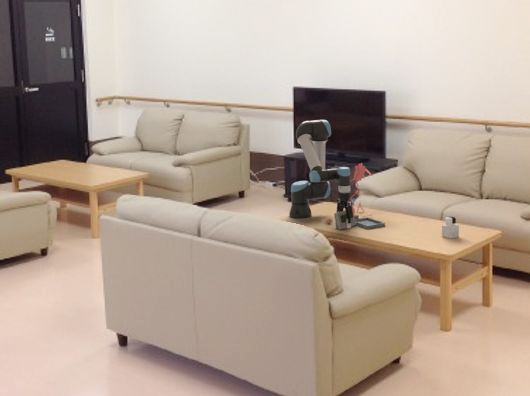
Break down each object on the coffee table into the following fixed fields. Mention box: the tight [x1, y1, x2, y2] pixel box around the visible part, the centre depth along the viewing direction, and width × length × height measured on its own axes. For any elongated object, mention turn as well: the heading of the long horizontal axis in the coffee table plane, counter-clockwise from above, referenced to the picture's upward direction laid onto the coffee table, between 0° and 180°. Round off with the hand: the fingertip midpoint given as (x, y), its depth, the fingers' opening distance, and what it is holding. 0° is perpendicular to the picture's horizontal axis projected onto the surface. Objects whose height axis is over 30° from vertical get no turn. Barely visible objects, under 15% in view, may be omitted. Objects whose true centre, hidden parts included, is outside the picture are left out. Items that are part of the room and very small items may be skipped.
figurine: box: [350, 162, 373, 217], centre depth 530 cm, size 15×26×35 cm, turn 135°
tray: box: [355, 216, 386, 230], centre depth 504 cm, size 13×19×2 cm
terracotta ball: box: [325, 217, 333, 225], centre depth 511 cm, size 4×4×4 cm
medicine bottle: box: [441, 216, 460, 240], centre depth 467 cm, size 7×7×12 cm
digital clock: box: [333, 209, 357, 231], centre depth 499 cm, size 16×9×11 cm, turn 121°
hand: (344, 226), depth 500 cm, fingers closed on digital clock, 8 cm apart
